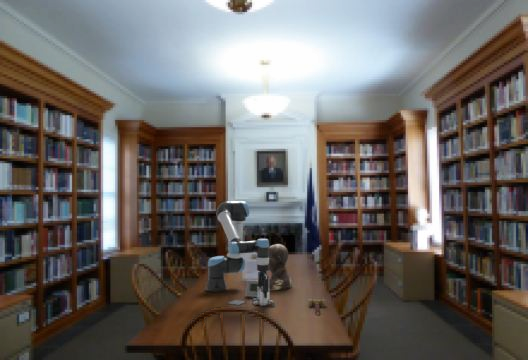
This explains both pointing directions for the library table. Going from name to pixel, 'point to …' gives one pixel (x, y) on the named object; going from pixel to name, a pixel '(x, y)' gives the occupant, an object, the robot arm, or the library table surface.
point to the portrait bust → (278, 268)
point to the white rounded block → (261, 297)
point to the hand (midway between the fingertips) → (263, 301)
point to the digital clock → (252, 288)
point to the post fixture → (268, 302)
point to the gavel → (317, 304)
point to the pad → (236, 302)
